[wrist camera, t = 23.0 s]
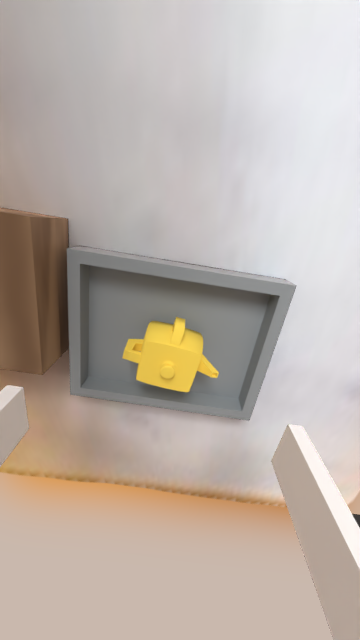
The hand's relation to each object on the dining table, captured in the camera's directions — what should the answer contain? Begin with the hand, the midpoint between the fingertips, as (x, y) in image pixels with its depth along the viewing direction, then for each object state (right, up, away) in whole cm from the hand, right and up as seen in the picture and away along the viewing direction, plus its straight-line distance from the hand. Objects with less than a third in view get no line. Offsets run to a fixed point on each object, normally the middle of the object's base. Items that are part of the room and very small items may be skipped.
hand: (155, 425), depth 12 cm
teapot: (+1, +4, +11) cm, 12 cm away
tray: (+1, +4, +11) cm, 12 cm away
